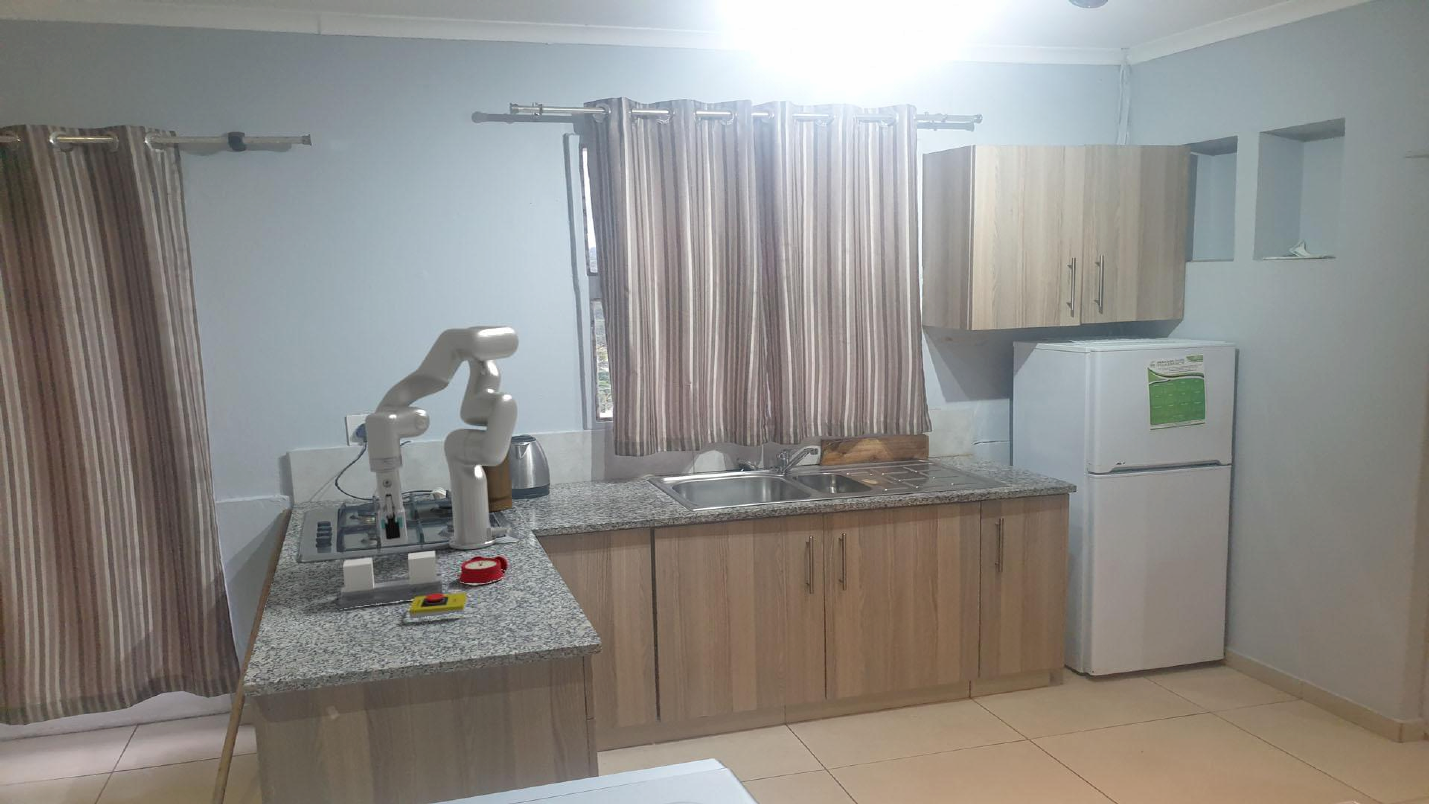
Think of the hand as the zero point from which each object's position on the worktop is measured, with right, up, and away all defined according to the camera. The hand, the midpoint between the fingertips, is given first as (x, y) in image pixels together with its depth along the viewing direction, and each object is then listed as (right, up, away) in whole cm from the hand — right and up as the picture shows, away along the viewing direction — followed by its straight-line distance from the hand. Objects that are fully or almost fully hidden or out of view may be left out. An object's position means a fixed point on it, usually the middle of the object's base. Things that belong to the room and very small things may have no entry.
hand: (393, 534), depth 237 cm
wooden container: (+8, -1, +67) cm, 68 cm away
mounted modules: (+4, -9, -14) cm, 17 cm away
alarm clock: (+23, -10, -3) cm, 25 cm away
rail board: (+4, -12, -14) cm, 19 cm away
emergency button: (+19, -14, -27) cm, 36 cm away
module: (0, -2, 0) cm, 2 cm away
